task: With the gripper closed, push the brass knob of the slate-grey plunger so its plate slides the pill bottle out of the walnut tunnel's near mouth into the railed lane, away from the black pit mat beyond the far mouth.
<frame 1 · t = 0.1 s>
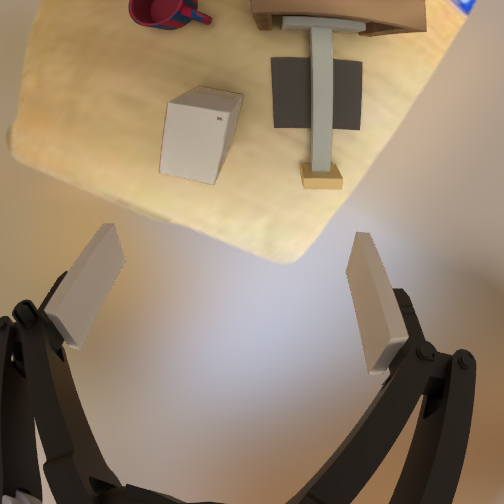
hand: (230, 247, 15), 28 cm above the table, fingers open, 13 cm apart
mug: (183, 13, 27), on the table
small box: (215, 116, 37), on the table
pit mat: (317, 93, 34), on the table
plunger: (322, 102, 31), point 4 cm above the table, slide at 0.0 cm
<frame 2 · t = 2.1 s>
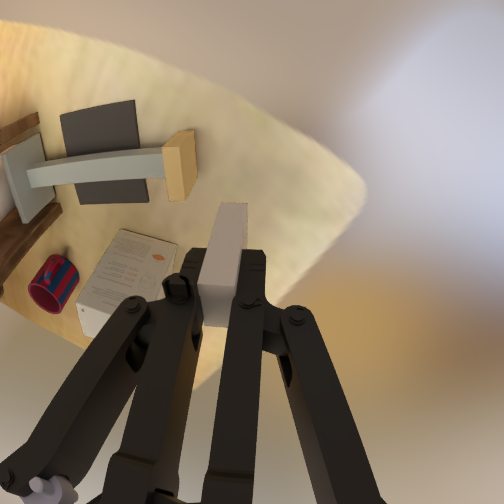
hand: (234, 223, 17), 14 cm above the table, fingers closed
tunnel: (21, 169, 29), on the table
mug: (65, 263, 40), on the table
small box: (147, 253, 37), on the table
pill bottle: (22, 168, 29), on the table
pit mat: (102, 156, 29), on the table
plunger: (92, 168, 26), point 4 cm above the table, slide at 0.0 cm
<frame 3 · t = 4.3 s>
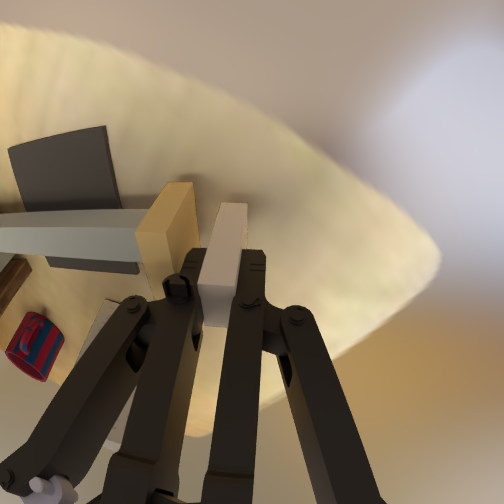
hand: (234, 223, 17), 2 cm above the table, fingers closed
mug: (46, 322, 30), on the table
small box: (142, 326, 28), on the table
pit mat: (69, 208, 19), on the table
plunger: (45, 236, 16), point 4 cm above the table, slide at 0.6 cm, touching gripper
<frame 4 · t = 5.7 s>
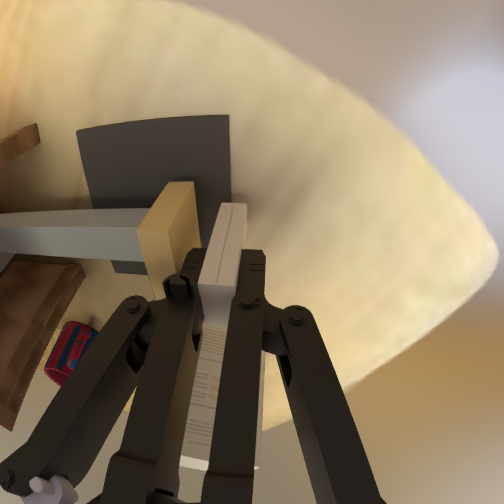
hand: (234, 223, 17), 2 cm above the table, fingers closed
tunnel: (15, 211, 19), on the table
mug: (90, 332, 30), on the table
small box: (217, 333, 27), on the table
pit mat: (157, 206, 19), on the table
plunger: (45, 236, 16), point 4 cm above the table, slide at 8.4 cm, touching gripper, pill bottle
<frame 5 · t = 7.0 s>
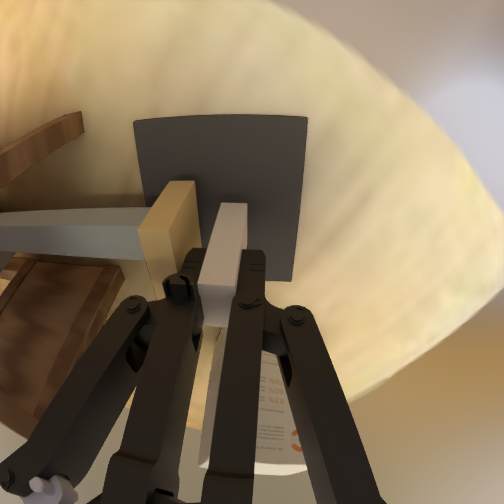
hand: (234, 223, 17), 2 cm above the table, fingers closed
tunnel: (45, 208, 19), on the table
small box: (261, 335, 27), on the table
pit mat: (220, 206, 19), on the table
plunger: (46, 234, 16), point 4 cm above the table, slide at 12.7 cm, touching gripper
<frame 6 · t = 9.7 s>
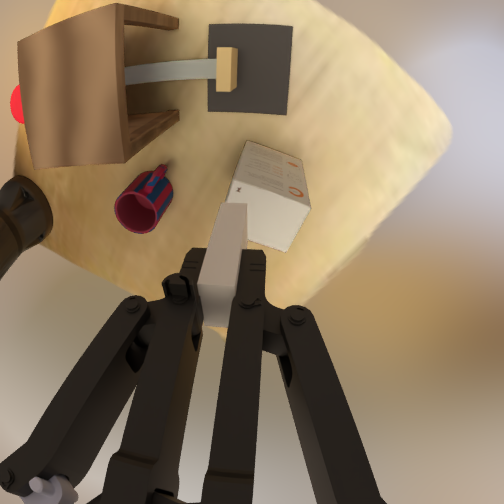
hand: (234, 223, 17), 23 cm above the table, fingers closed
tunnel: (136, 73, 31), on the table
mug: (158, 182, 42), on the table
small box: (266, 168, 39), on the table
pill bottle: (72, 85, 32), on the table
pit mat: (248, 67, 30), on the table
plunger: (145, 73, 28), point 4 cm above the table, slide at 12.7 cm
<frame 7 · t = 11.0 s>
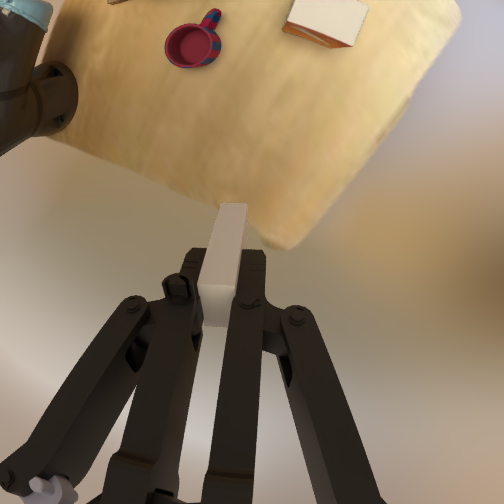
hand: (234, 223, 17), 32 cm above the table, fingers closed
mug: (206, 39, 35), on the table
small box: (312, 23, 32), on the table
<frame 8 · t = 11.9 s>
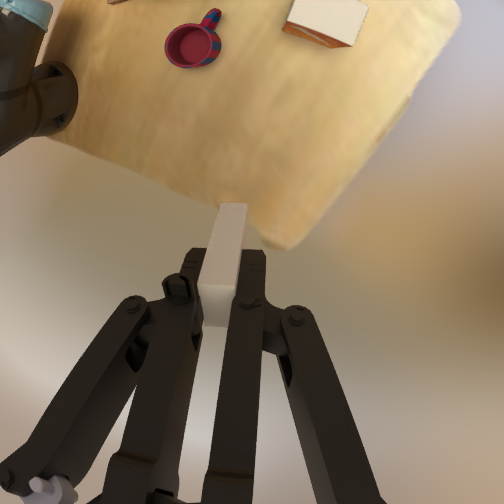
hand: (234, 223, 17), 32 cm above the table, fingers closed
mug: (206, 39, 35), on the table
small box: (312, 23, 32), on the table
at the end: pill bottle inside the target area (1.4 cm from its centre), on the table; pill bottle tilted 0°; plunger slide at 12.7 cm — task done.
